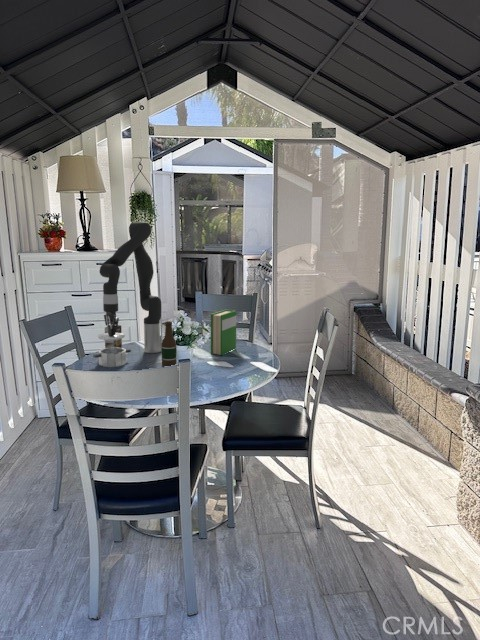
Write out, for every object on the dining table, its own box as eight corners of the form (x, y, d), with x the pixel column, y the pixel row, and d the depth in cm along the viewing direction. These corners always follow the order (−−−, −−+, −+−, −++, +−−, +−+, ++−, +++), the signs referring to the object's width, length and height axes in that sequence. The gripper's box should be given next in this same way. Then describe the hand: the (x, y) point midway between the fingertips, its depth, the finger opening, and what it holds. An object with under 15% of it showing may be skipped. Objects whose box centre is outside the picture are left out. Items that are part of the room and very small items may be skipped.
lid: (118, 334, 254) (117, 323, 252) (129, 339, 243) (129, 327, 242) (94, 337, 245) (93, 325, 244) (104, 342, 235) (104, 330, 234)
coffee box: (115, 356, 261) (114, 328, 258) (105, 355, 262) (103, 327, 259) (122, 352, 270) (121, 325, 267) (112, 351, 271) (111, 324, 268)
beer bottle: (179, 365, 244) (179, 321, 240) (170, 369, 238) (169, 323, 233) (168, 363, 248) (167, 319, 243) (158, 367, 241) (157, 322, 237)
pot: (124, 357, 258) (124, 345, 257) (136, 363, 248) (135, 350, 247) (89, 363, 246) (88, 350, 244) (100, 369, 235) (99, 356, 234)
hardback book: (221, 356, 264) (222, 315, 259) (210, 354, 267) (210, 314, 263) (235, 349, 279) (236, 310, 275) (225, 348, 283) (225, 309, 278)
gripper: (123, 303, 238) (124, 336, 241) (111, 300, 248) (112, 331, 251) (109, 304, 233) (110, 338, 236) (98, 301, 244) (99, 333, 247)
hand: (111, 334), depth 244 cm, fingers closed on lid, 3 cm apart
